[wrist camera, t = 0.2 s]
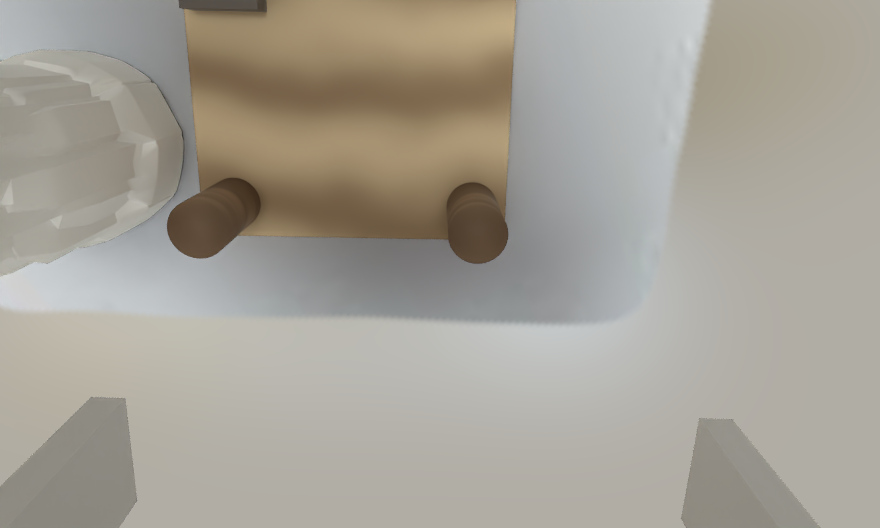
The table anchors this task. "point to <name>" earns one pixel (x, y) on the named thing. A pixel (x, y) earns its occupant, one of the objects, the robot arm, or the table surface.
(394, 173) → the stool seat
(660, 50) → the table surface
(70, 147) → the white tall rough piece
